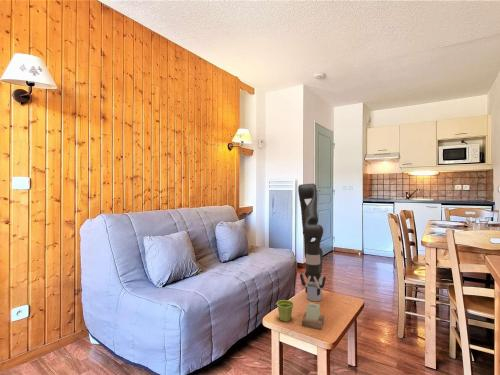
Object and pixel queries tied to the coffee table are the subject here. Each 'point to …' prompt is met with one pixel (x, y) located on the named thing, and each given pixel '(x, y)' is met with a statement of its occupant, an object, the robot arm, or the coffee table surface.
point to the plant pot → (285, 309)
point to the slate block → (312, 290)
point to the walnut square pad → (313, 322)
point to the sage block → (313, 311)
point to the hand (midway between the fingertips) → (312, 294)
